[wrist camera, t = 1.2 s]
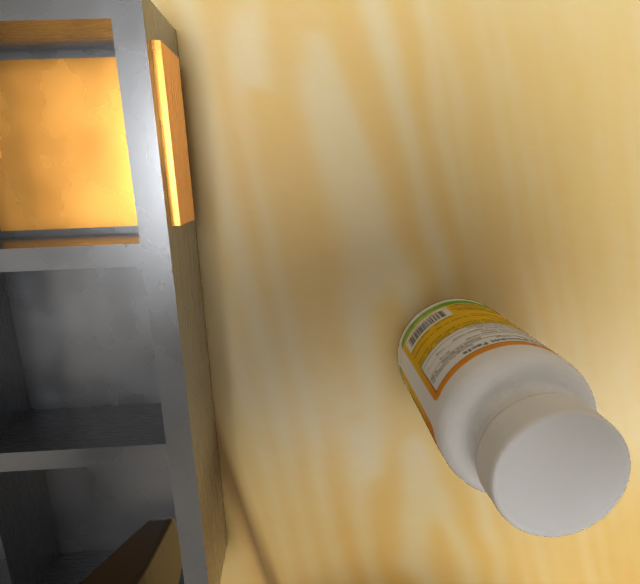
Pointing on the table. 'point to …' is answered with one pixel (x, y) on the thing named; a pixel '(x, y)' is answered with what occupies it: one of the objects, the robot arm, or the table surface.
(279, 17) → the table surface
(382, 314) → the table surface
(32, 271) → the compartment organizer tray
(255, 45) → the table surface
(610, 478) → the supplement bottle
